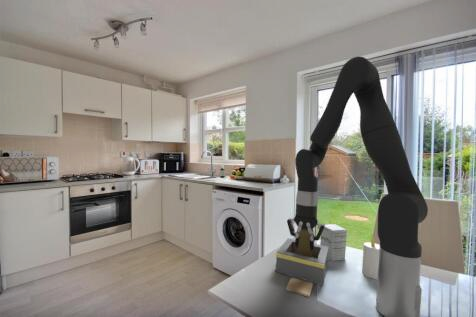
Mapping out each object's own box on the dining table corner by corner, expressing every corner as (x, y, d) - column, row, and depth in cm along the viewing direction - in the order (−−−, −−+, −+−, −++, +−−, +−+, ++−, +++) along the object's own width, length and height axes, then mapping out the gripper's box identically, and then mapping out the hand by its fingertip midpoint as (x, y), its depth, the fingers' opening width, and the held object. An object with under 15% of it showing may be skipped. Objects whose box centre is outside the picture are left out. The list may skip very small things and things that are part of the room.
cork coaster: (312, 285, 74) (312, 283, 74) (309, 297, 68) (309, 295, 68) (291, 279, 77) (291, 277, 77) (286, 289, 71) (286, 287, 71)
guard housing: (327, 264, 89) (328, 246, 89) (323, 285, 74) (324, 264, 74) (286, 254, 96) (287, 238, 96) (275, 272, 81) (276, 252, 81)
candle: (386, 276, 82) (388, 235, 81) (375, 280, 79) (377, 237, 78) (369, 268, 87) (371, 229, 87) (358, 271, 84) (360, 231, 84)
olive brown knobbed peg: (313, 262, 81) (315, 231, 81) (296, 259, 82) (297, 229, 82) (311, 255, 87) (313, 226, 87) (295, 252, 88) (296, 224, 88)
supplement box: (319, 253, 99) (320, 224, 98) (333, 252, 101) (334, 223, 101) (330, 261, 92) (332, 230, 91) (345, 259, 94) (347, 229, 94)
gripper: (328, 203, 85) (325, 249, 85) (289, 198, 91) (287, 241, 91) (326, 207, 78) (323, 257, 78) (285, 202, 84) (282, 248, 85)
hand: (304, 248), depth 85 cm, fingers closed on olive brown knobbed peg, 4 cm apart
